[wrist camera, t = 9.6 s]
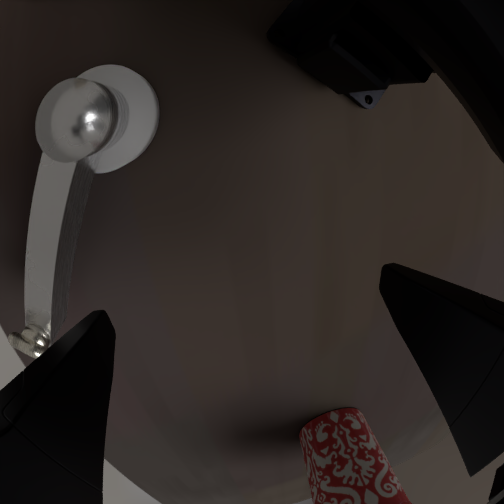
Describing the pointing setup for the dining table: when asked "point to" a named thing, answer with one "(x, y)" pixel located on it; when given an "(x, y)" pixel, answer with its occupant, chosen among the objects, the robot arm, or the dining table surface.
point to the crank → (63, 197)
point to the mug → (347, 461)
